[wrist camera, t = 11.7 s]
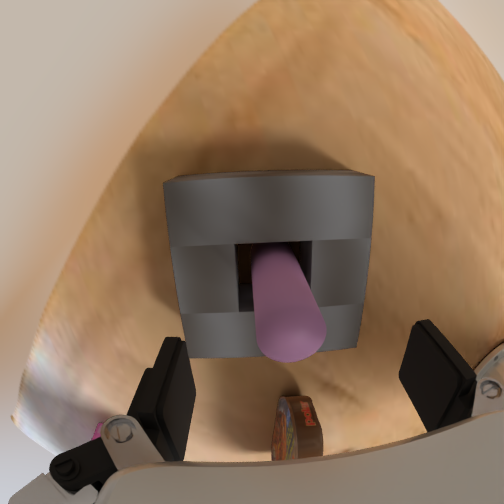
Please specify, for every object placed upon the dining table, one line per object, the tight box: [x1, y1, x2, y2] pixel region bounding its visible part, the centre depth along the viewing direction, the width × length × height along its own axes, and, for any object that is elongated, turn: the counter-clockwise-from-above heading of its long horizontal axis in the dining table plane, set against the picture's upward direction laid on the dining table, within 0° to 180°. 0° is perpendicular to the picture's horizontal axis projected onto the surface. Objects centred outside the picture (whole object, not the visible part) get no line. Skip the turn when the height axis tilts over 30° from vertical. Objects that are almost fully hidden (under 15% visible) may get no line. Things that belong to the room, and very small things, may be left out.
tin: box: [272, 396, 323, 461], centre depth 25 cm, size 15×3×8 cm, turn 178°
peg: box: [250, 242, 327, 362], centre depth 17 cm, size 3×3×10 cm
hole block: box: [163, 170, 375, 358], centre depth 20 cm, size 12×12×4 cm
